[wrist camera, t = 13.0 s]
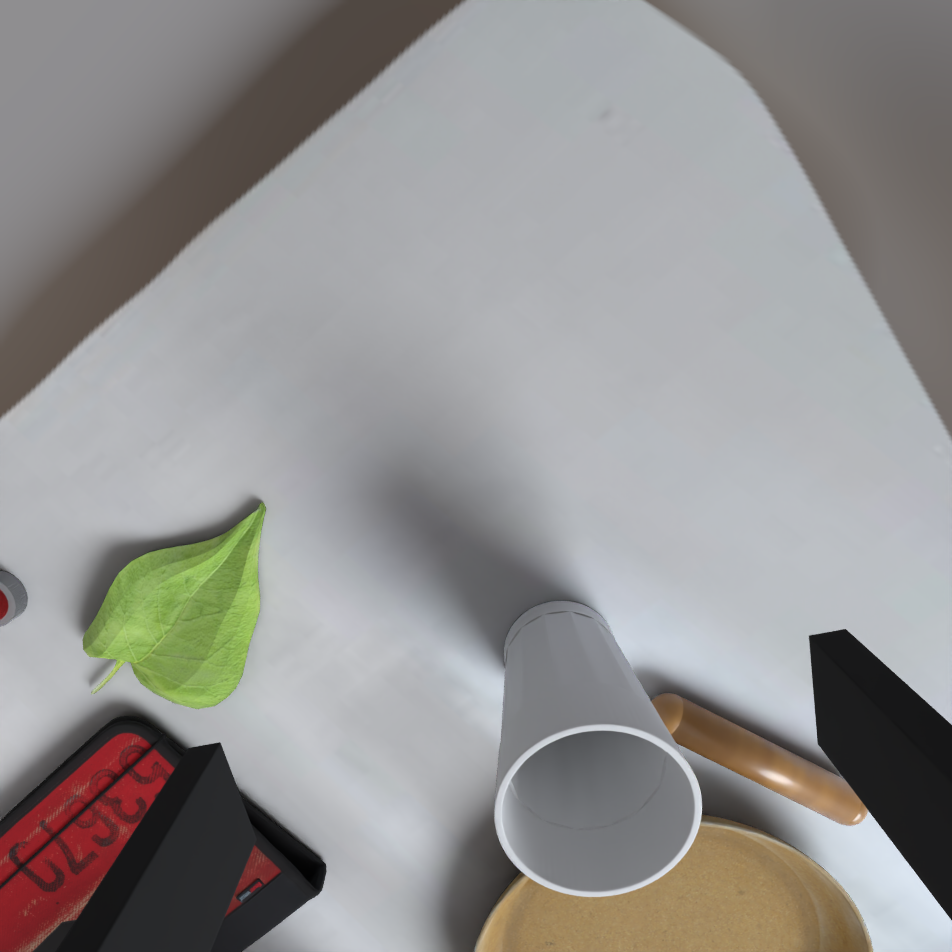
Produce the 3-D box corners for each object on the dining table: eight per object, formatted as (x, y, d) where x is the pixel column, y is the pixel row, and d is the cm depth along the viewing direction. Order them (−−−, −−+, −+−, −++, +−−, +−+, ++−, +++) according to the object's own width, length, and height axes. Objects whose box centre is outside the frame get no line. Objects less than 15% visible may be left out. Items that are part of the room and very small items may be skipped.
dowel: (635, 709, 37) (645, 736, 35) (657, 677, 36) (669, 702, 34) (836, 809, 38) (859, 841, 36) (861, 780, 38) (886, 811, 36)
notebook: (321, 897, 37) (96, 1070, 41) (331, 865, 40) (117, 1031, 43) (116, 714, 35) (-102, 915, 39) (139, 691, 37) (-69, 882, 41)
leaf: (45, 650, 36) (21, 670, 34) (226, 468, 33) (210, 477, 31) (165, 747, 38) (148, 771, 36) (347, 580, 35) (339, 596, 33)
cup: (460, 645, 36) (451, 804, 24) (570, 559, 35) (616, 684, 23) (549, 737, 37) (580, 930, 26) (658, 658, 36) (743, 823, 24)
